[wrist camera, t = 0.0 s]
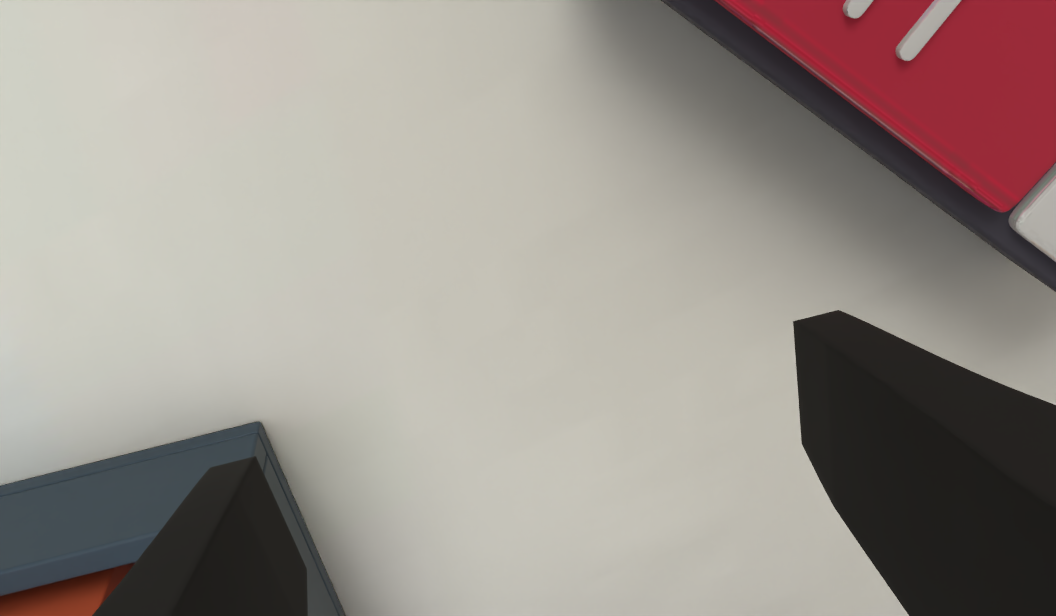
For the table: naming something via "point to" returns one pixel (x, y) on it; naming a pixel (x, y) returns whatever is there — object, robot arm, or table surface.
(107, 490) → the bin
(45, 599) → the terracotta block
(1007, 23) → the red and grey box
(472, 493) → the table surface
